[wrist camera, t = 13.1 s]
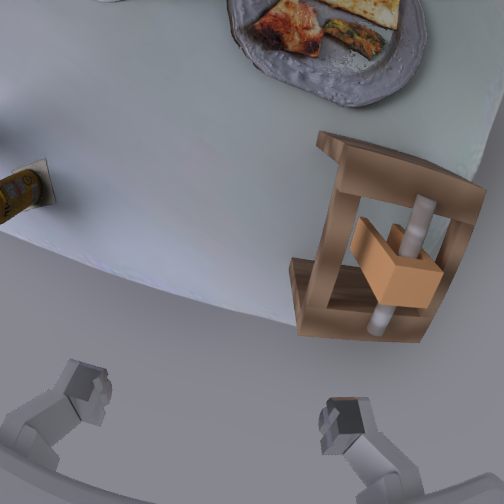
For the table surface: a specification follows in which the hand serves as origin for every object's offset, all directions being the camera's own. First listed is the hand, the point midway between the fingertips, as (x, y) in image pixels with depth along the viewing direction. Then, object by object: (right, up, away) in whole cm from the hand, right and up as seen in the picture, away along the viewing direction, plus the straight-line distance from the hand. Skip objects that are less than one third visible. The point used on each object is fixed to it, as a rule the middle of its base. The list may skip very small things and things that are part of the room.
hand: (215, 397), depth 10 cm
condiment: (-34, +16, +29) cm, 47 cm away
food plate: (+11, +35, +19) cm, 41 cm away
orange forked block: (+16, +7, +24) cm, 30 cm away
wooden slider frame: (+16, +10, +31) cm, 36 cm away
